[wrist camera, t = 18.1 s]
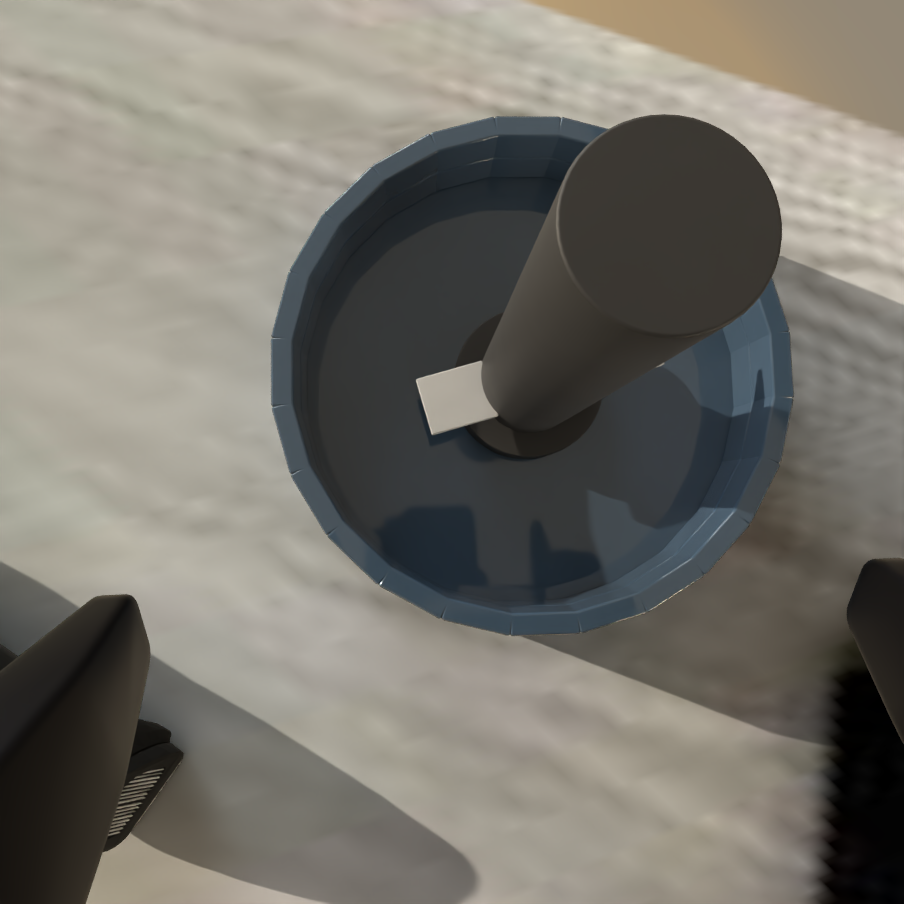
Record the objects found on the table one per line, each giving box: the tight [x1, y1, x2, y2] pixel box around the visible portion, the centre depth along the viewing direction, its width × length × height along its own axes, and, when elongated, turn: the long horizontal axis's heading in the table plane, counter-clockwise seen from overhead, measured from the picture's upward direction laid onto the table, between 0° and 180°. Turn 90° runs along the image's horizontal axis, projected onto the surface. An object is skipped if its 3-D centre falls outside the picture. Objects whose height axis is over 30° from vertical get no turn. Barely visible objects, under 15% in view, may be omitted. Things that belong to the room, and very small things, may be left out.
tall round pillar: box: [416, 114, 782, 459], centre depth 15 cm, size 6×4×12 cm
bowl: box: [271, 116, 794, 636], centre depth 21 cm, size 14×14×3 cm
